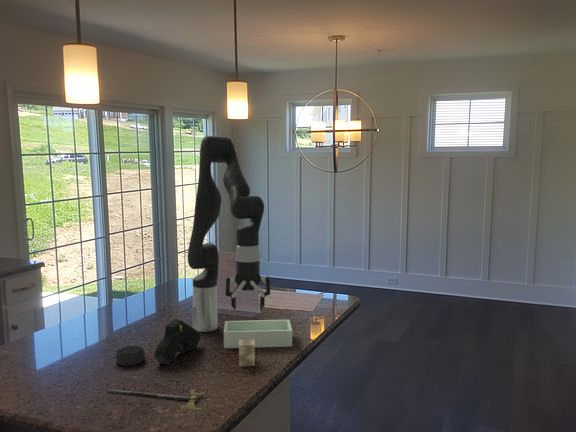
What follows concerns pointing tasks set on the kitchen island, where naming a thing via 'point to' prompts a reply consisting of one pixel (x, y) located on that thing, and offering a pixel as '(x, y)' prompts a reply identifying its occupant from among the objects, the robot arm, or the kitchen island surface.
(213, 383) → the kitchen island surface
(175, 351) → the taser
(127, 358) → the smart speaker
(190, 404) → the decorative axe
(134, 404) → the kitchen island surface
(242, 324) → the tub
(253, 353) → the block
